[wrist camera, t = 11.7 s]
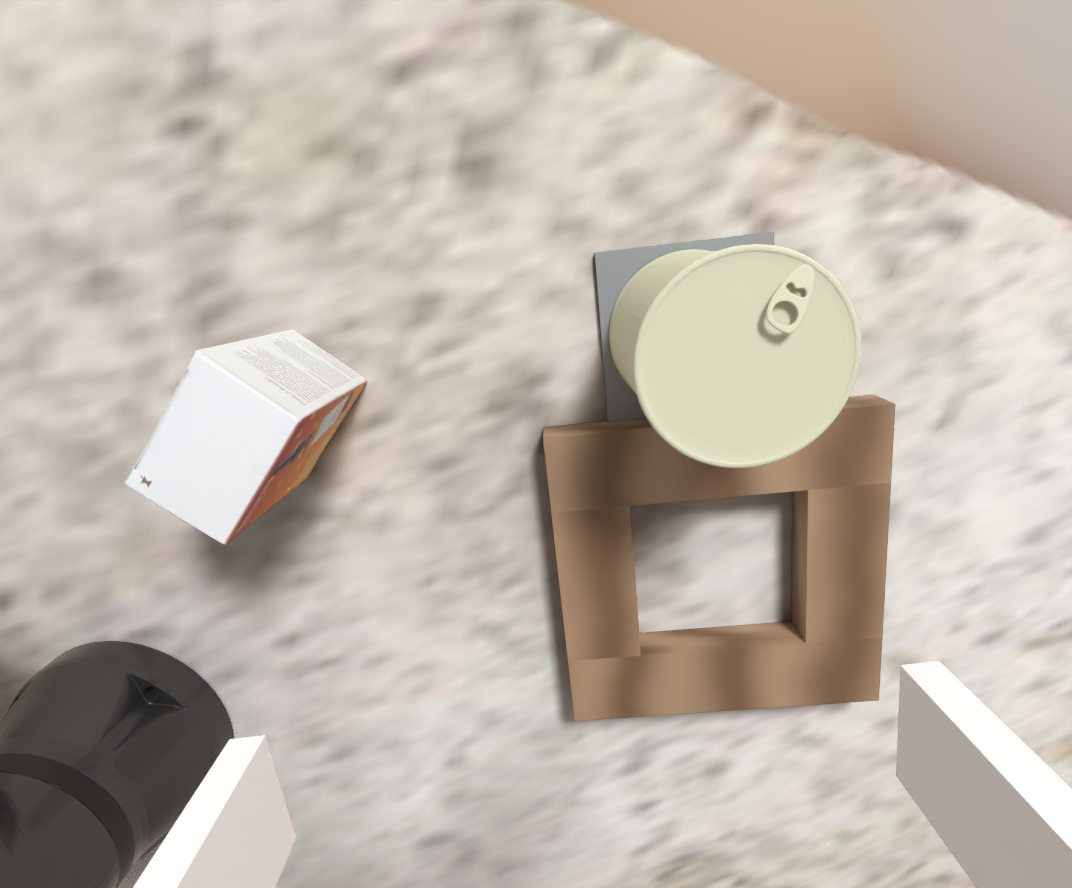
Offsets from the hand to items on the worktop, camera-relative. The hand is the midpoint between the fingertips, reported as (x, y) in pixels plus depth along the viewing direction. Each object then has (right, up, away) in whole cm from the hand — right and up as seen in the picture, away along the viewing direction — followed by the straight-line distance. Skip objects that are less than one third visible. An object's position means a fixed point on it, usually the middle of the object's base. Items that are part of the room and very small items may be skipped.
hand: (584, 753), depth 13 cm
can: (+8, +13, +23) cm, 28 cm away
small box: (-16, +9, +26) cm, 31 cm away
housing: (+11, -1, +27) cm, 29 cm away
